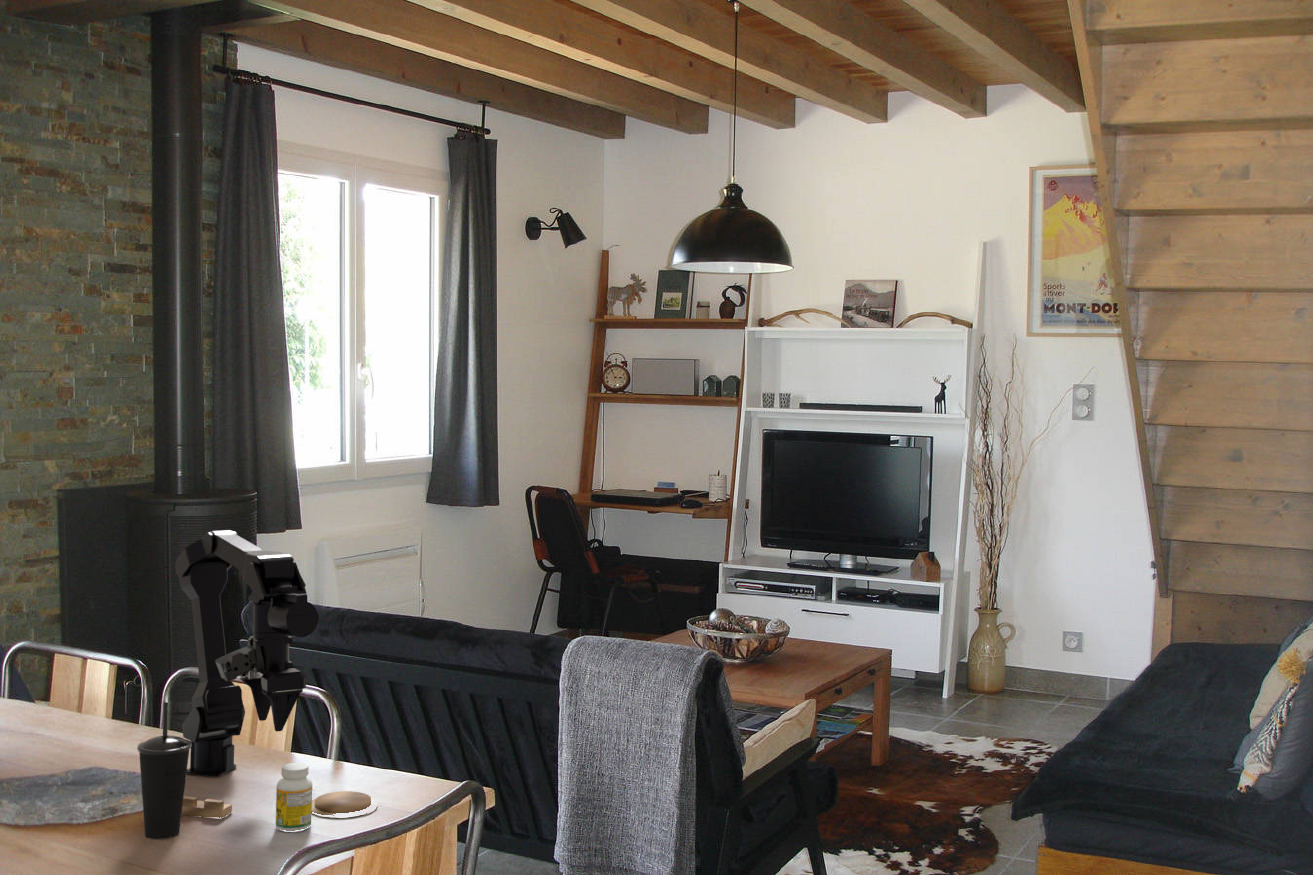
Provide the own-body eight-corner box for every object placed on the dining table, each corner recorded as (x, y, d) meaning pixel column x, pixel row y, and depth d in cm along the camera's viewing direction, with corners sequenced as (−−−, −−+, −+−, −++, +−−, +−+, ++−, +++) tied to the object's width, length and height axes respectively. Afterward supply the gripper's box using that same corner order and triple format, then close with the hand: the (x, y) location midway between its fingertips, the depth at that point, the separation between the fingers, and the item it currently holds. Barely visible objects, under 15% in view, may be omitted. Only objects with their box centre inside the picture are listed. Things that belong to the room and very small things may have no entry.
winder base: (295, 814, 199) (295, 806, 199) (327, 793, 210) (327, 786, 210) (359, 821, 197) (359, 814, 197) (388, 800, 208) (388, 793, 208)
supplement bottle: (311, 832, 191) (313, 770, 191) (275, 834, 190) (277, 772, 189) (310, 820, 196) (312, 760, 196) (275, 822, 195) (277, 762, 195)
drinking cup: (172, 821, 193) (176, 694, 193) (198, 833, 189) (202, 703, 188) (125, 833, 188) (128, 702, 187) (151, 846, 183) (155, 711, 182)
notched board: (175, 814, 197) (176, 797, 197) (186, 808, 200) (187, 791, 200) (221, 819, 195) (222, 802, 195) (231, 813, 198) (232, 796, 198)
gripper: (206, 627, 208) (205, 720, 208) (236, 642, 192) (235, 743, 192) (273, 622, 214) (272, 713, 214) (307, 636, 198) (306, 734, 198)
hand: (270, 725), depth 204 cm, fingers open, 9 cm apart
